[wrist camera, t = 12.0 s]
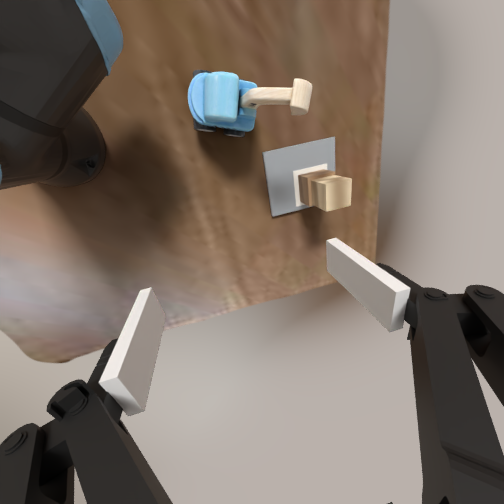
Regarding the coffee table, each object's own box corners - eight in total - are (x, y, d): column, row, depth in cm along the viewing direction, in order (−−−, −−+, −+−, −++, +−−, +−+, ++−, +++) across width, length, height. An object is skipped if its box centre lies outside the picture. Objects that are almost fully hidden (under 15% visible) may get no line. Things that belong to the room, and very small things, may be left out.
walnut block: (300, 201, 50) (309, 206, 46) (297, 175, 47) (307, 177, 43) (323, 195, 51) (335, 200, 46) (323, 169, 48) (335, 171, 43)
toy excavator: (273, 142, 44) (308, 139, 29) (189, 130, 41) (181, 119, 25) (280, 92, 41) (325, 60, 26) (189, 74, 37) (179, 22, 22)
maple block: (312, 204, 45) (326, 211, 40) (310, 180, 43) (325, 184, 38) (333, 199, 46) (350, 205, 41) (333, 175, 44) (351, 178, 38)
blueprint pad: (271, 215, 51) (272, 216, 50) (262, 152, 45) (263, 152, 44) (333, 200, 53) (335, 201, 52) (332, 136, 46) (335, 136, 45)
